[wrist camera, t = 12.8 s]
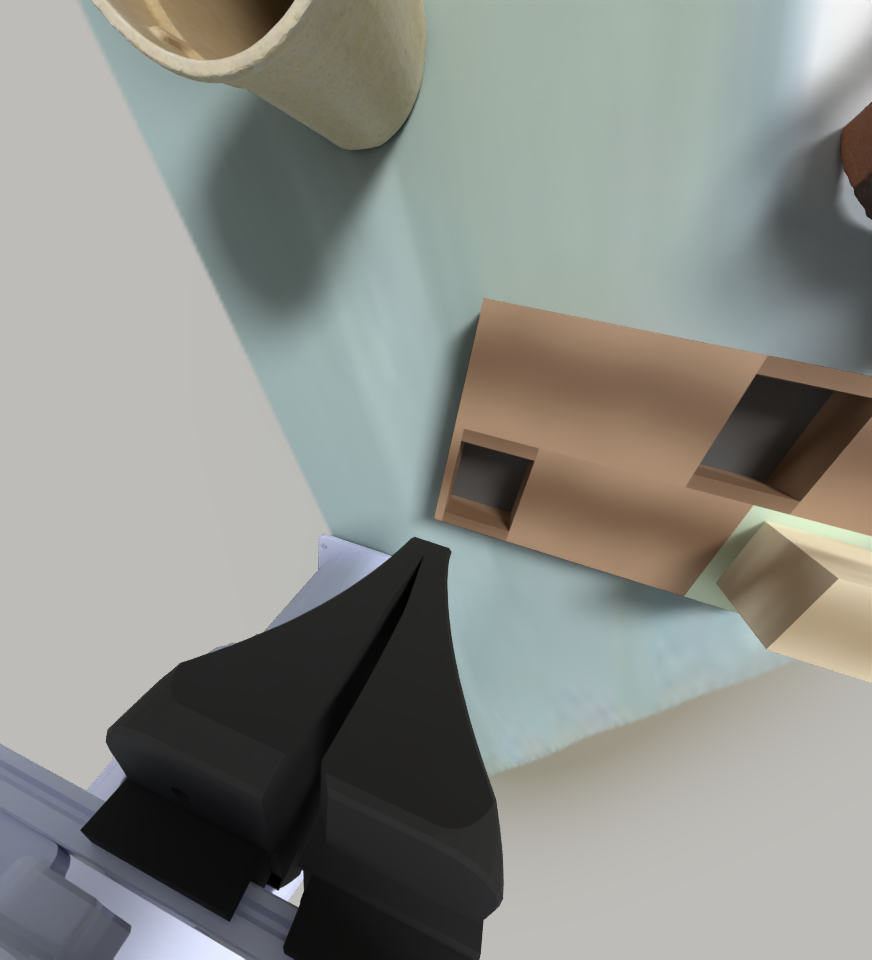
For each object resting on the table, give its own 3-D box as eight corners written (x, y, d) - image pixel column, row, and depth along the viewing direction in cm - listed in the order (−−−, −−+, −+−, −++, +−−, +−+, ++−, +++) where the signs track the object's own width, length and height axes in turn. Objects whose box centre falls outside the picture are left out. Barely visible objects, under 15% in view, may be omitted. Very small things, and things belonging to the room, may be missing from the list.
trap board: (763, 596, 19) (795, 630, 17) (443, 500, 22) (434, 518, 20) (948, 396, 13) (1031, 408, 11) (489, 303, 16) (483, 298, 14)
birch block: (800, 608, 16) (877, 684, 13) (715, 583, 17) (766, 649, 13) (862, 546, 14) (972, 615, 11) (764, 521, 15) (838, 578, 11)
